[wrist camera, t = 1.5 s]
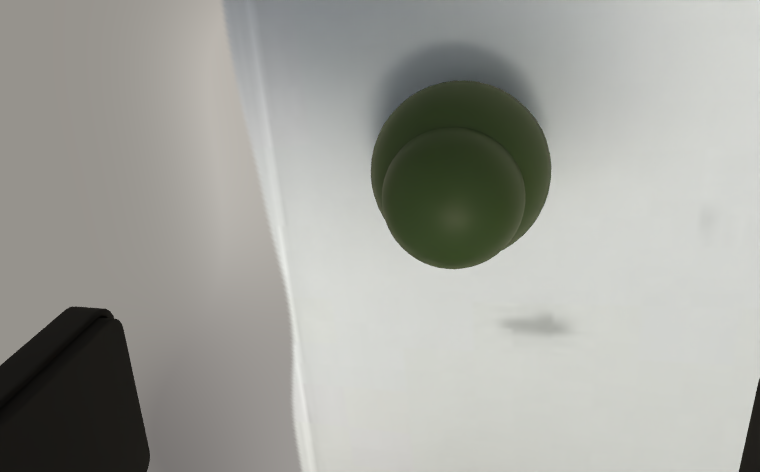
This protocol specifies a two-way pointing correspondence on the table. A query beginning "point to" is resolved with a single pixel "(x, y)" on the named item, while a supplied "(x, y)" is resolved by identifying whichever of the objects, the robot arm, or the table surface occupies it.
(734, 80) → the table surface
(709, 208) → the table surface
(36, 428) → the robot arm
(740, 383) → the table surface
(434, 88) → the avocado
